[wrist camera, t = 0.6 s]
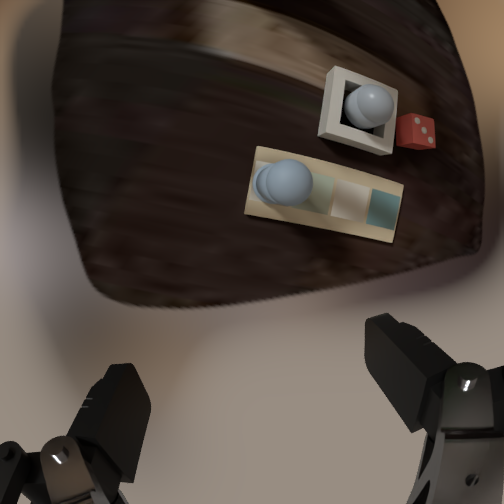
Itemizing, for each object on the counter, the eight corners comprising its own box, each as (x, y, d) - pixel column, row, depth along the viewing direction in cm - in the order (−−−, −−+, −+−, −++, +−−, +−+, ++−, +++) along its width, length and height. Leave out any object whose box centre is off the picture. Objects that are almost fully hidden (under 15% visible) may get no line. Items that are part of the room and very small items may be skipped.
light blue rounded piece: (346, 86, 29) (365, 71, 24) (381, 99, 30) (404, 88, 24) (341, 122, 30) (361, 112, 25) (377, 134, 31) (401, 127, 25)
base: (327, 73, 31) (335, 65, 28) (386, 95, 32) (398, 90, 29) (317, 136, 32) (325, 132, 29) (380, 155, 34) (391, 153, 31)
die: (395, 118, 32) (411, 112, 29) (417, 123, 33) (434, 119, 29) (396, 145, 33) (413, 142, 29) (418, 150, 34) (435, 147, 30)
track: (256, 146, 32) (257, 145, 31) (400, 184, 35) (403, 185, 34) (244, 213, 34) (244, 213, 33) (389, 241, 36) (392, 243, 35)
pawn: (256, 160, 32) (271, 147, 21) (295, 168, 32) (327, 160, 22) (249, 199, 33) (260, 205, 22) (288, 206, 33) (317, 216, 22)
